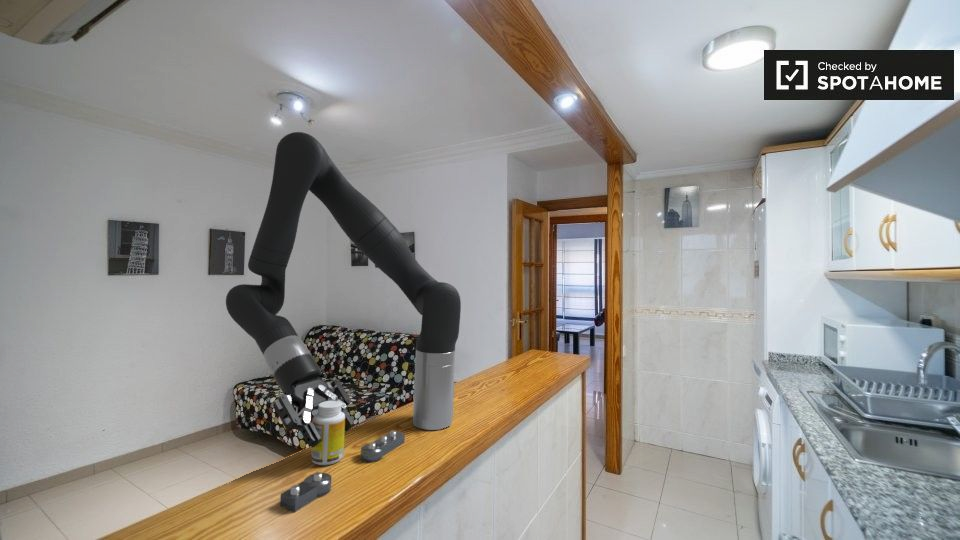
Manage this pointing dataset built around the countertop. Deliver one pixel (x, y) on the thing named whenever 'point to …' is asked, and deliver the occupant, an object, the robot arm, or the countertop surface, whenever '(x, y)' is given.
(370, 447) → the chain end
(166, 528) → the countertop surface
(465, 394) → the countertop surface
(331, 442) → the supplement bottle
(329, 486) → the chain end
